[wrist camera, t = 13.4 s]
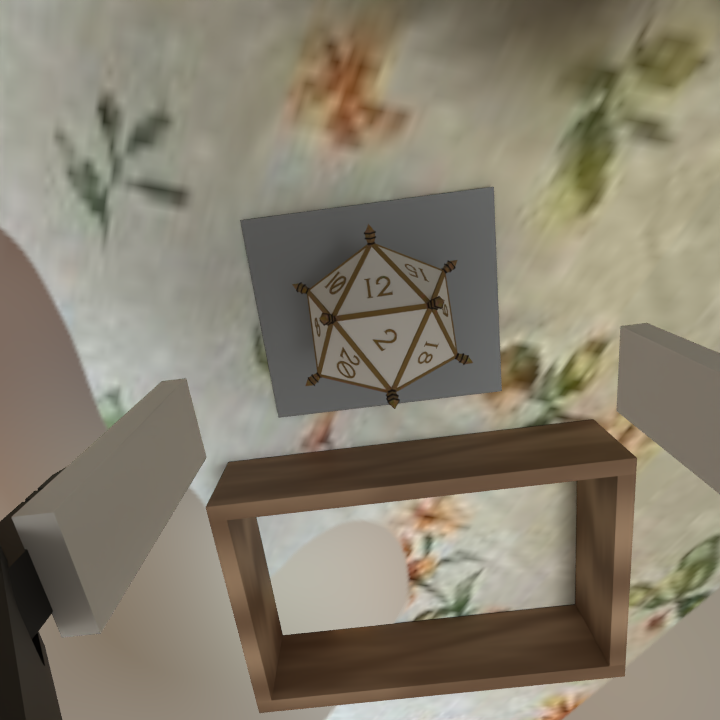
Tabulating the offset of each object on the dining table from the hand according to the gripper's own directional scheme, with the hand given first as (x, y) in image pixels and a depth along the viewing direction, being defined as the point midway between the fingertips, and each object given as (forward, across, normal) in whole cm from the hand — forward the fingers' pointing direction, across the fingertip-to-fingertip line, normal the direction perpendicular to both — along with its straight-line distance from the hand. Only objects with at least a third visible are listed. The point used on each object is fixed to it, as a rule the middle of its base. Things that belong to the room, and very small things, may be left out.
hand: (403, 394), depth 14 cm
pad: (+15, 0, 0) cm, 15 cm away
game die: (+14, 0, 0) cm, 14 cm away
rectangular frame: (+14, +1, -17) cm, 23 cm away
